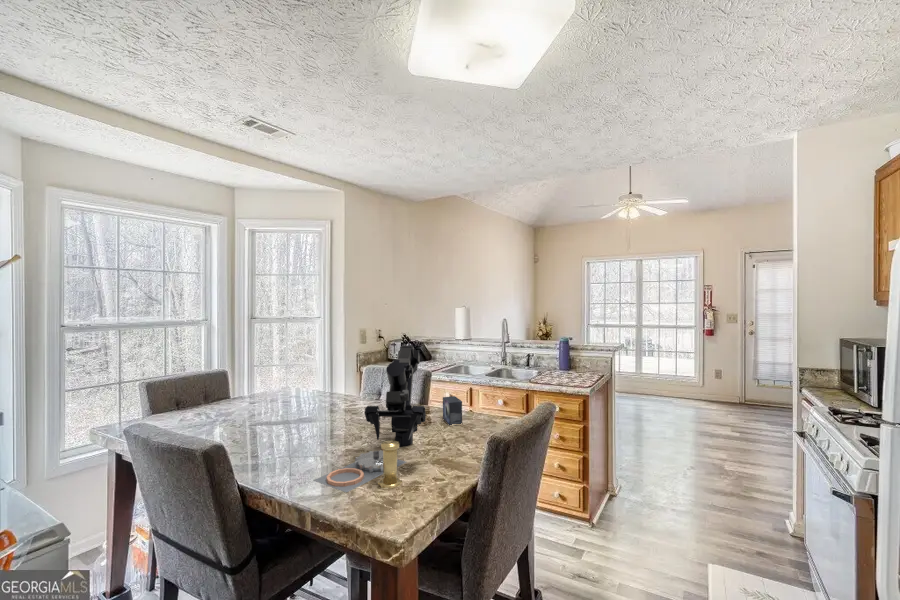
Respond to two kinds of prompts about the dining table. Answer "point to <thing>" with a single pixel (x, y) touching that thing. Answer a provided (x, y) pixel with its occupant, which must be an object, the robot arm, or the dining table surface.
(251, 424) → the dining table surface
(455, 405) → the small box
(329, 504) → the dining table surface
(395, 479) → the gold piece
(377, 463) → the gear
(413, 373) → the robot arm
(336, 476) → the gear board
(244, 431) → the dining table surface
